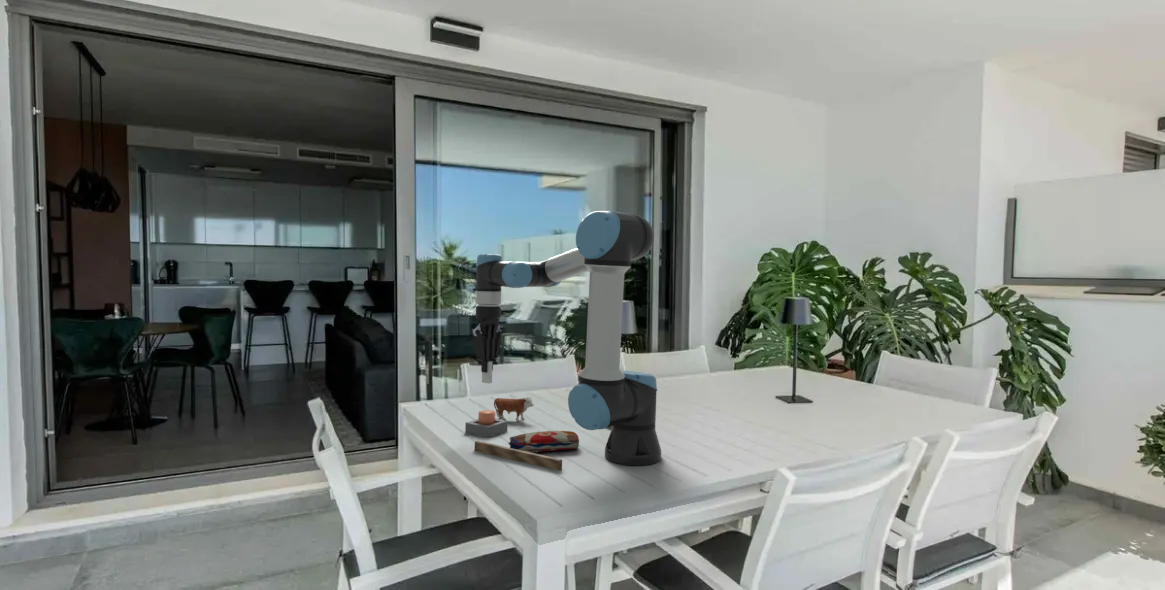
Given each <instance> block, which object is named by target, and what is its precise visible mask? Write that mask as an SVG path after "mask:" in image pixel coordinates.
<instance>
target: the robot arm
mask: <svg viewBox="0 0 1165 590" xmlns="http://www.w3.org/2000/svg"><path fill="white" fill-rule="evenodd" d="M576 229H577V230H576V233H575V246H576V247H575V248H572V249H570V250H568V251H565V252H563V253H561V254H557V255H555V256H552V257H550V258H547V259H545V260H543V261H520V260H519V261H516V260H512V261H511V260H510V261H509V260H507V261H506V260H504V261H503V255H501V254H491V253H480V254H478V255H477V256H476V257H477V258H476V267H475V269H476V271H475V272H476V280H475V285H476V286H475V287H476V292H475V293H476V295H475V298H476V299H475V304H477V305H476V306H475V318H477V322H476V327H475V328H472V329H471V330H470V332H471V335H472V338H473V346H474V352H475V358H476V361H478V362H480V363H481V370H480V371H481V383H483V384H484V383H485V384H492V383H493V371H494V362H496V361H497V359H498V358H499V355H500V354H499V353H500V349H501V344H502V343H501V342H502V336H503V333H504V330H505V327H504V326H501V325H500V322H499V319H500V318H501V317H502V307H501V306H500V305H501V304H502V287H506V288H512V289H520V288H534V287H536V288H537V287H538V288H540V287H541V288H551V287H556V286H558V285H560V283H561V282H562V281H564V280H567V279H570V278H573V277H576V276H579V275H582V274H585V273H588V272H589V282H588V283H589V284H588V303H587V305H588V307H587V326H586V345H585V365H584V367H583V369H582V370H580V371H579V373H578V384H576V385H574V386H573V387H572V388H571V390H569V393H568V397H567V405H568V406H567V407H568V410H569V413H570V415H571V418H573V419H574V421H575V423H576V424H577V426H579V427H581V428H582V429H585V430H587V431H596V430H605V429H607V428H610V427H611V430H610V433H609V436H608V438H607V440H606V444H605V448H604V457H605V459H607V460H608V461H610V462H612V463H615V464H619V465H624V466H625V465H626V466H649V465H653V464H656V463H658V462H660V461H661V460H662V449H661V444H660V441H659V437H658V435H657V431H656V421H657V419H656V418H657V416H656V415H657V391H658V388H657V378H656V377H655V376H654V375H653V374H649V373H646V372H641V371H640V372H638V371H632V370H622V369H620V364H621V363H620V362H621V361H620V360H621V342H622V326H623V325H622V324H623V321H622V320H623V306H624V287H625V286H624V285H625V274H626V272H627V271H628V270H630V269H631V268H632V261H635V260H638V259H641V258H643V257H646V255H648V253H649V252H650V250H652V247H653V245H654V241H655V233H654V230H653V226H652V225H651V223H650V222H649V221H648V220H647V219H646V218H645V217H643V216H641V215H638V214H633V213H626V212H625V213H624V212H619V211H612V210H595V211H592V212H590V213H588V214H587V215H585V217H584V218H583V219H582V220H581V221H580V223H579V224H578V227H577V228H576Z"/></svg>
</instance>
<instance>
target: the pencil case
mask: <svg viewBox="0 0 1165 590" xmlns="http://www.w3.org/2000/svg"><path fill="white" fill-rule="evenodd" d="M507 444H508V445H509V448H513V449H517V450H522V451H526V452H531V453H535V454H537V453H541V452H551V451H566V450H574V449H575V450H577V449H578V448H579V446H580V439H579V435H578V434H577V433H576V432H574V431H571V430H547V431H546V430H545V431H534V432H527V433H523V434H518V435H514V436H510V437H509V442H507Z"/></svg>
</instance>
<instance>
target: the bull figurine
mask: <svg viewBox="0 0 1165 590" xmlns="http://www.w3.org/2000/svg"><path fill="white" fill-rule="evenodd" d="M534 406H535V405H534V403H533V400H532V397H530V396H527V397H525V396H521V397H517V398H502V397H500V398H499V397H498V398H494V401H493V407H494V409H495V414H496V416H497V418H498V419H499V420H504V421H507V419H506V417H505V416H504V411H506V412H507V414H508V415H510V414H511V413H516V417H515V418H516V419H515V421H516V422H520V420H522V421H525V417H524V413H525V412H526V411H527V410H528V408H531V407H534Z"/></svg>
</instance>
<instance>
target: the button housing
mask: <svg viewBox="0 0 1165 590" xmlns="http://www.w3.org/2000/svg"><path fill="white" fill-rule="evenodd" d="M508 423H509V422H508V420H506V421H504V420H502V419H499V418H498V419H497V418H495V423H494V424H491V425H483V424H478V418H477V419H473V420H469V421H467V422H465V426H464V427H465V428H464V429H465V430H464V432H465V434H470V435H475V436H476V435H477V436H479V437H483V438H490V437H494V436H496V435H500V434H502V433H505V432H508V425H509V424H508Z"/></svg>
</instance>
